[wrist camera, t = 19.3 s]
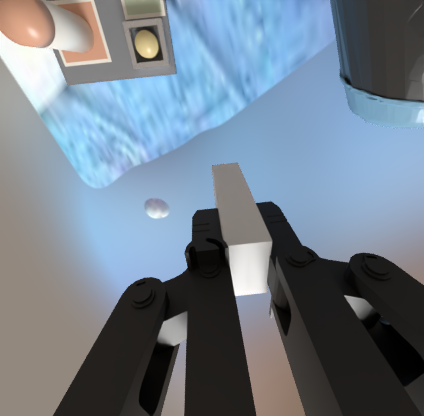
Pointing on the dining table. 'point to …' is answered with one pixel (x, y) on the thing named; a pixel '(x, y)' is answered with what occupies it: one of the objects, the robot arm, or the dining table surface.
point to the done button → (147, 44)
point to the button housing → (130, 38)
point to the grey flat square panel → (112, 41)
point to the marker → (44, 26)
